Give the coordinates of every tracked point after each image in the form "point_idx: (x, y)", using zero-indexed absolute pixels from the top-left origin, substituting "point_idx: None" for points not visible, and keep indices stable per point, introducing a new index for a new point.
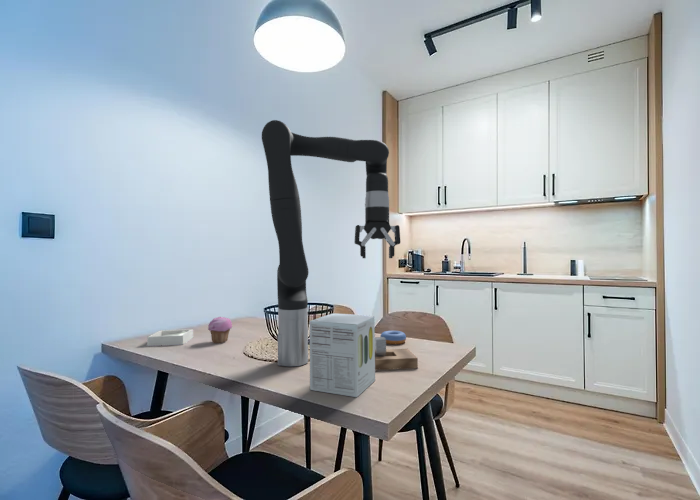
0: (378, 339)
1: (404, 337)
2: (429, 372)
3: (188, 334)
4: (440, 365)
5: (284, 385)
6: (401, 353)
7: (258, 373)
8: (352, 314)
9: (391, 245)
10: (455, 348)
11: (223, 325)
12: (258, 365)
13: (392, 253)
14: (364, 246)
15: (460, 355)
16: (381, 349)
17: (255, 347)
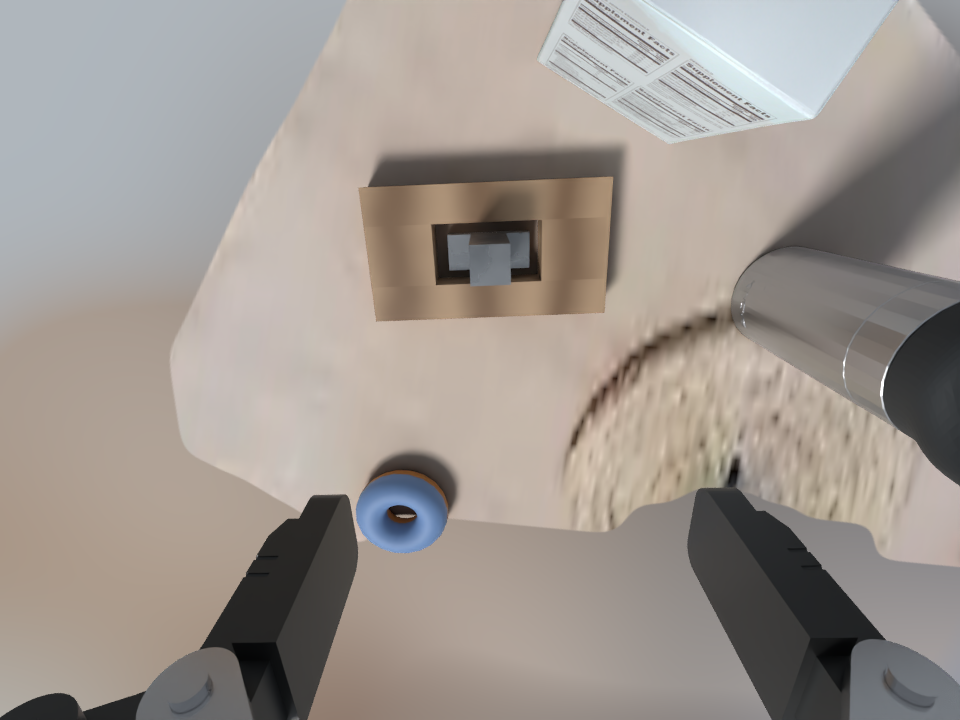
0: (500, 244)
1: (364, 491)
2: (334, 132)
3: None
4: (283, 210)
5: None
6: (409, 256)
7: (917, 186)
8: (708, 38)
9: (240, 667)
10: (201, 404)
11: None
12: None
13: (290, 534)
14: (831, 639)
15: (195, 321)
16: (487, 238)
17: (876, 483)
